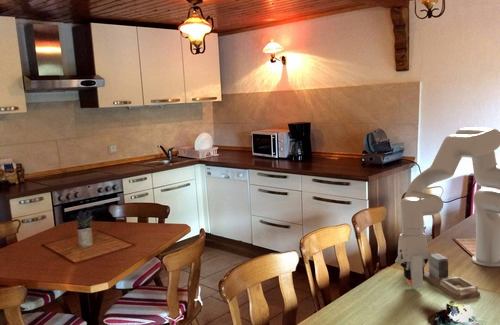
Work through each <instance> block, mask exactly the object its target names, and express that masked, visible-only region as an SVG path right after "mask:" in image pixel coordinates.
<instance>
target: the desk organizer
mask: <svg viewBox="0 0 500 325" xmlns="http://www.w3.org/2000/svg"><path fill="white" fill-rule="evenodd" d="M430 254H431V256H432V257H431V258H430V259H429V260H428V270H429V271H428V270H427V271H424V278H423V280H425V281H427V282H429V283H430V284H432V286H434V287H436V288H438V289H439V290H441V291H442V292H444V293H445V294H447V295H449V296H450V297H452V298H453V299H455V300H457V301H462V300H466V299H473V298H479V297H481V291H479V290H478V288H479V286H478V285H477V284H475V283H473V282H471V281H469V280H467V279H466V278H463V277H462V276H452V275H450V274H449V261H448V259H449V258H448V257H446V256H443V255H442V254H440V253H430Z"/></svg>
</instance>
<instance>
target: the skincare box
mask: <svg viewBox="0 0 500 325" xmlns="http://www.w3.org/2000/svg"><path fill="white" fill-rule="evenodd" d="M409 269H410V271H411V280H408V279H407V278H405V282H406V283H407V284H409V286H411V287H412V289H414V288H421V287H424V278H423V266H422V256H421V255H419V256H413V257H411V262H410V267H409Z"/></svg>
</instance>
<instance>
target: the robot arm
mask: <svg viewBox="0 0 500 325" xmlns="http://www.w3.org/2000/svg"><path fill="white" fill-rule="evenodd" d="M499 148H500V130H498V129H497V128H493V127H492V128H490V127H462V128H459V129H458V130H456V132H455V134H450V135H447V136H446V137H444V139H443V141H442V143H441V145H440V147H439V149H438V151H437V153H436V155H435V157H434V159H433V161H432V163H431V165H430V166H429V167H428V168H426V169H424V170H423V171H422V172H421V173H420V174H418V175H417V176H415V177H414V178H413V179H412V181H411V182H410V185H409V186H408V188H407V190H406V193H405V195H404V197H403V198H402V199H401V201H400V210H401V211H400V216H401V218H400V219H401V233H400V234H399V237H398V241H397V242H398V243H397V245H398V246H397V257H396V259H395V261H394V262H395V263H396V264H398V265H399V266H401V267H402V268H403V276H404V278H405V279H406V278H407V279H408V280H411V271H410V269H409V267H410V262H411V257H413V256H419V255H421V256H422V266H423V279H424V272H425V267H426V265H427V263H429V259H430V258H431V257H432V256H431V254H432V253H430V252H429V248H428V241H427V236H426V234H425V230H427V226H426V225H424V216H434V215H437V214H439V213H441V212H442V210H443V208H444V200H443V199H442V198H441V197H440V196H438V195H436V194H431V193H427V192H424V191H425V190H426V189H427V188H428V187H429V186H431V185H433V184H435V183H439V182H442V181H445V180H448V179H450V178H452V177H453V176H454V174H455V172H456V170H457V167H458V166H459V164H460V162H461V160H462V158H470V159H471V162H472V168H473V175H474V181H475V183H476V184H477V185H478V186H479V187H483V188H479V189H477V190H476V191H475V192H474V194H473V198H472V199H473V206H474V210H475V255H472V257H471V261H472V262H473V263H474V264H476V265H479V266H484V267H490V268H491V267H492V268H497V267H500V215H499V214H500V164H498V163H497V160H496V159H497V158H496V154H495V151H496V150H497V149H499ZM402 260H403V261H402Z"/></svg>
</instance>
